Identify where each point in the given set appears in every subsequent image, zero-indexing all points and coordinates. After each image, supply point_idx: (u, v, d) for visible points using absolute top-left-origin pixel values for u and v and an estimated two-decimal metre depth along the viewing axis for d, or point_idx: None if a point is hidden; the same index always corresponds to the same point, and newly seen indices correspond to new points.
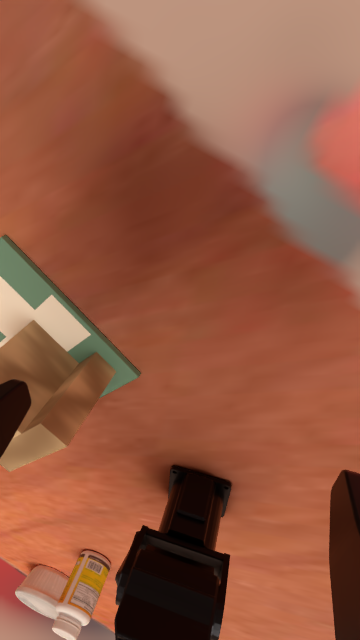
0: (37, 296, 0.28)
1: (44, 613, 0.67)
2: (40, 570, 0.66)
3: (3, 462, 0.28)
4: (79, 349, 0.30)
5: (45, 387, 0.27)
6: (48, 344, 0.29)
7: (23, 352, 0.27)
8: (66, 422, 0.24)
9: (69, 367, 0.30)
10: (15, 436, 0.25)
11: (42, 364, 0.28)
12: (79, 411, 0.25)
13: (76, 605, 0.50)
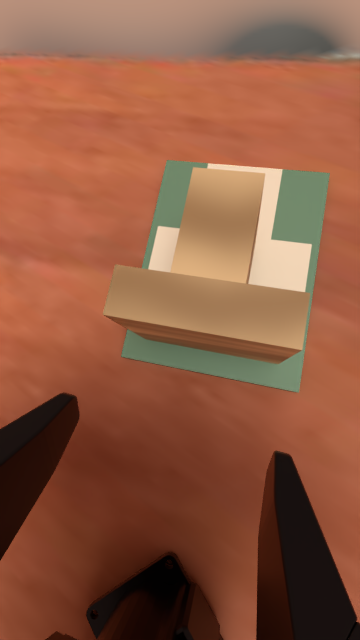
0: (292, 233, 0.23)
1: None
2: None
3: (123, 295, 0.16)
4: None
5: None
6: (250, 271, 0.22)
7: (254, 245, 0.20)
8: None
9: None
10: (226, 279, 0.15)
11: (249, 274, 0.21)
12: None
13: None
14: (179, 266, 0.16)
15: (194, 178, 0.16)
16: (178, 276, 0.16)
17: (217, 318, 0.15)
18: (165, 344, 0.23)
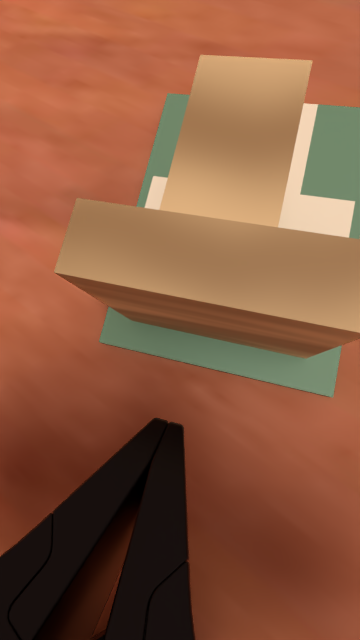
0: (329, 186, 0.18)
1: None
2: None
3: (87, 244, 0.10)
4: None
5: None
6: None
7: None
8: None
9: None
10: (247, 221, 0.10)
11: None
12: None
13: None
14: (173, 200, 0.10)
15: (201, 70, 0.11)
16: (171, 216, 0.10)
17: (230, 281, 0.09)
18: (156, 328, 0.18)
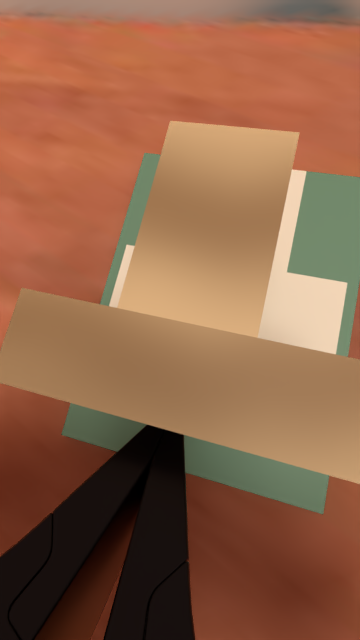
0: (318, 264, 0.16)
1: None
2: None
3: (30, 347, 0.09)
4: None
5: None
6: None
7: None
8: None
9: None
10: (220, 328, 0.08)
11: None
12: None
13: None
14: (134, 296, 0.08)
15: (171, 139, 0.09)
16: (131, 316, 0.08)
17: (199, 404, 0.08)
18: (126, 421, 0.16)
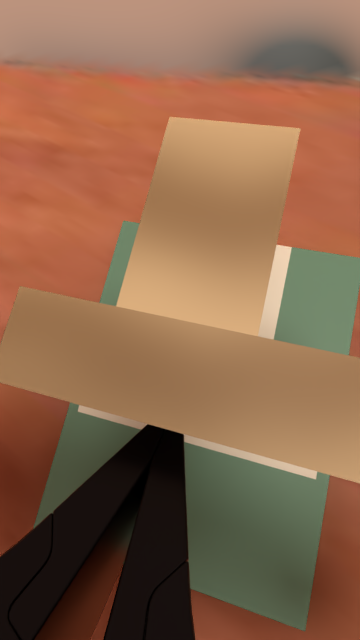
0: None
1: None
2: None
3: (29, 345, 0.08)
4: (256, 474, 0.14)
5: None
6: None
7: None
8: None
9: None
10: (220, 326, 0.08)
11: None
12: None
13: None
14: (133, 294, 0.08)
15: (170, 136, 0.09)
16: (130, 314, 0.08)
17: (199, 403, 0.08)
18: None
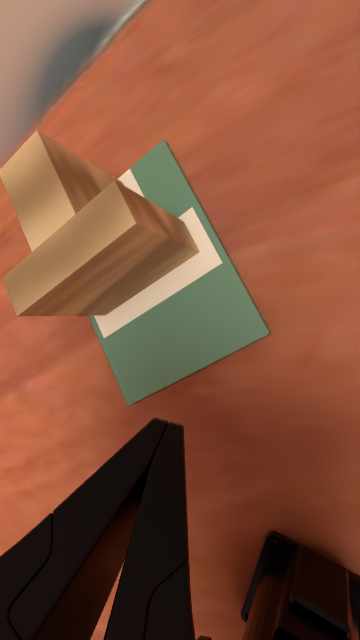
0: (172, 211, 0.24)
1: None
2: None
3: (19, 292, 0.19)
4: (196, 287, 0.23)
5: None
6: None
7: (104, 184, 0.22)
8: (140, 211, 0.17)
9: None
10: (63, 223, 0.17)
11: None
12: (156, 223, 0.18)
13: None
14: (33, 242, 0.18)
15: (3, 177, 0.19)
16: (38, 249, 0.18)
17: (76, 253, 0.17)
18: (149, 373, 0.25)
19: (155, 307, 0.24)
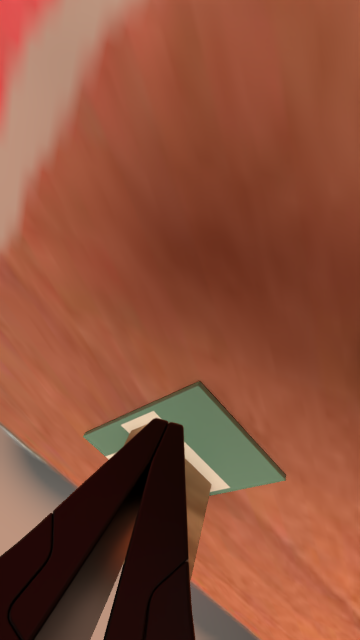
0: (126, 436, 0.32)
1: None
2: None
3: None
4: None
5: None
6: None
7: None
8: None
9: None
10: None
11: None
12: None
13: None
14: None
15: None
16: None
17: None
18: (251, 462, 0.29)
19: (197, 452, 0.30)
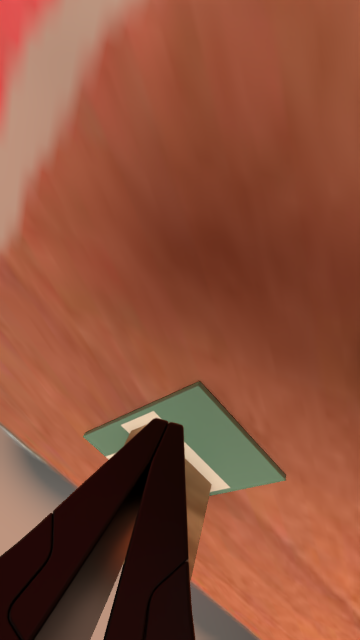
0: (126, 436, 0.32)
1: None
2: None
3: None
4: None
5: None
6: None
7: None
8: None
9: None
10: None
11: None
12: None
13: None
14: None
15: None
16: None
17: None
18: (251, 462, 0.29)
19: (197, 452, 0.30)
